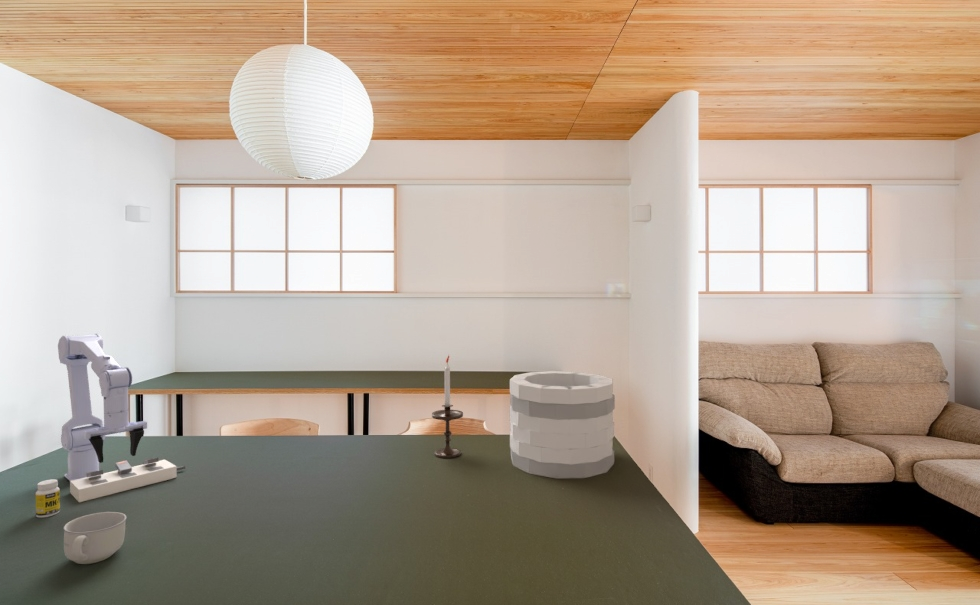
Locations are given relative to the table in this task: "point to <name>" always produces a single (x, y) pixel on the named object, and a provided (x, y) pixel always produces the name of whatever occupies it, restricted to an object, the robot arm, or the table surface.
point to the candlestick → (447, 419)
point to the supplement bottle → (47, 498)
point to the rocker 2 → (123, 467)
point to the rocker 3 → (150, 461)
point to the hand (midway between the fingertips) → (117, 458)
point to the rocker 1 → (94, 473)
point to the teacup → (94, 537)
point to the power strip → (122, 480)
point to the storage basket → (562, 423)
